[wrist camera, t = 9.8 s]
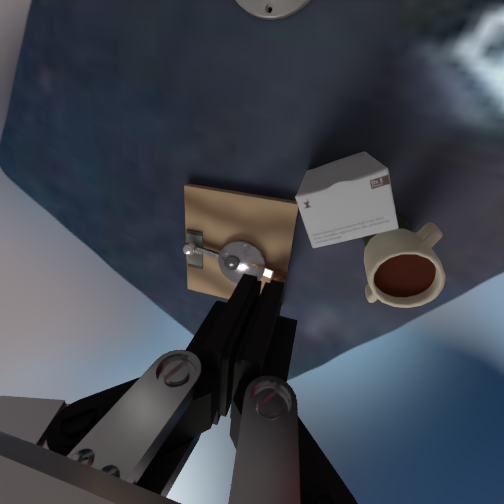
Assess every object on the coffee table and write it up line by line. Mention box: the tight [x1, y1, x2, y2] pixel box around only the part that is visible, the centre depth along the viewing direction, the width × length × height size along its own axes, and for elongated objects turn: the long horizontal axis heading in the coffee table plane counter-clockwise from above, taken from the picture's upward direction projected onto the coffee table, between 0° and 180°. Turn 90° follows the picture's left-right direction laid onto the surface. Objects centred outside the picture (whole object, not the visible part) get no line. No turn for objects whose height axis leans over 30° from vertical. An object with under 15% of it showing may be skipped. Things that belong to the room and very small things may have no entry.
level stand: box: [184, 183, 299, 305], centre depth 46 cm, size 20×18×2 cm
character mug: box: [363, 215, 445, 308], centre depth 33 cm, size 11×7×13 cm, turn 154°
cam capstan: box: [183, 240, 287, 284], centre depth 43 cm, size 18×8×6 cm, turn 77°
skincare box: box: [295, 152, 399, 248], centre depth 31 cm, size 8×6×15 cm
